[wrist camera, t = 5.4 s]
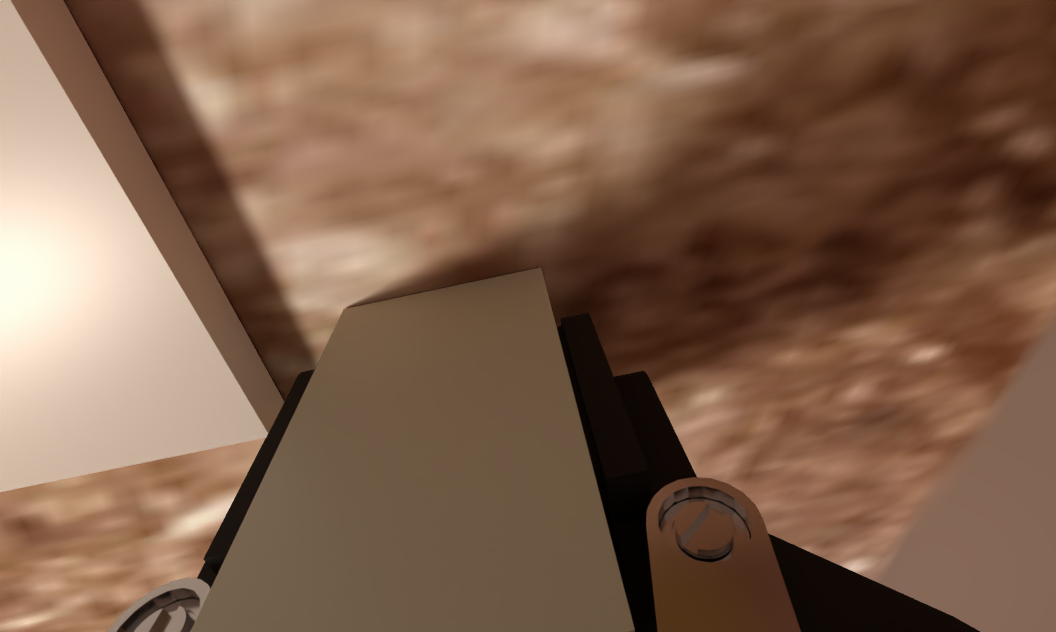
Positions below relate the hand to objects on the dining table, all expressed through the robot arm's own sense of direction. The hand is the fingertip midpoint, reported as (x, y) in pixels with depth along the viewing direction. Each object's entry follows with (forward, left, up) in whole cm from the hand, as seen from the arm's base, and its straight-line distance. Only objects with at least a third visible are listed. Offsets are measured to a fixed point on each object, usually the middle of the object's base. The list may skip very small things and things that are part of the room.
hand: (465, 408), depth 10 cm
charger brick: (0, 0, -1) cm, 1 cm away
